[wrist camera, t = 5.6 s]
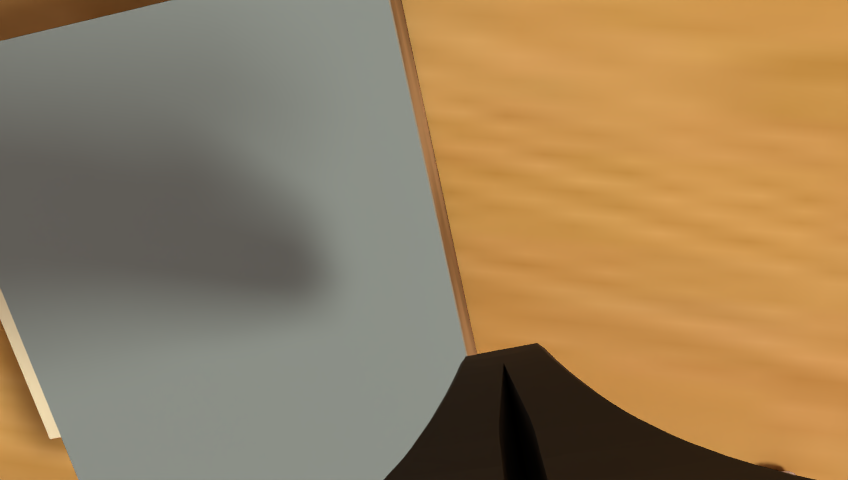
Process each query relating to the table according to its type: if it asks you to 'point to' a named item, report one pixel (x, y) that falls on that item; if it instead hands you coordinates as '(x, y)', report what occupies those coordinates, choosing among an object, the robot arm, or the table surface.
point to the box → (433, 173)
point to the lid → (223, 242)
